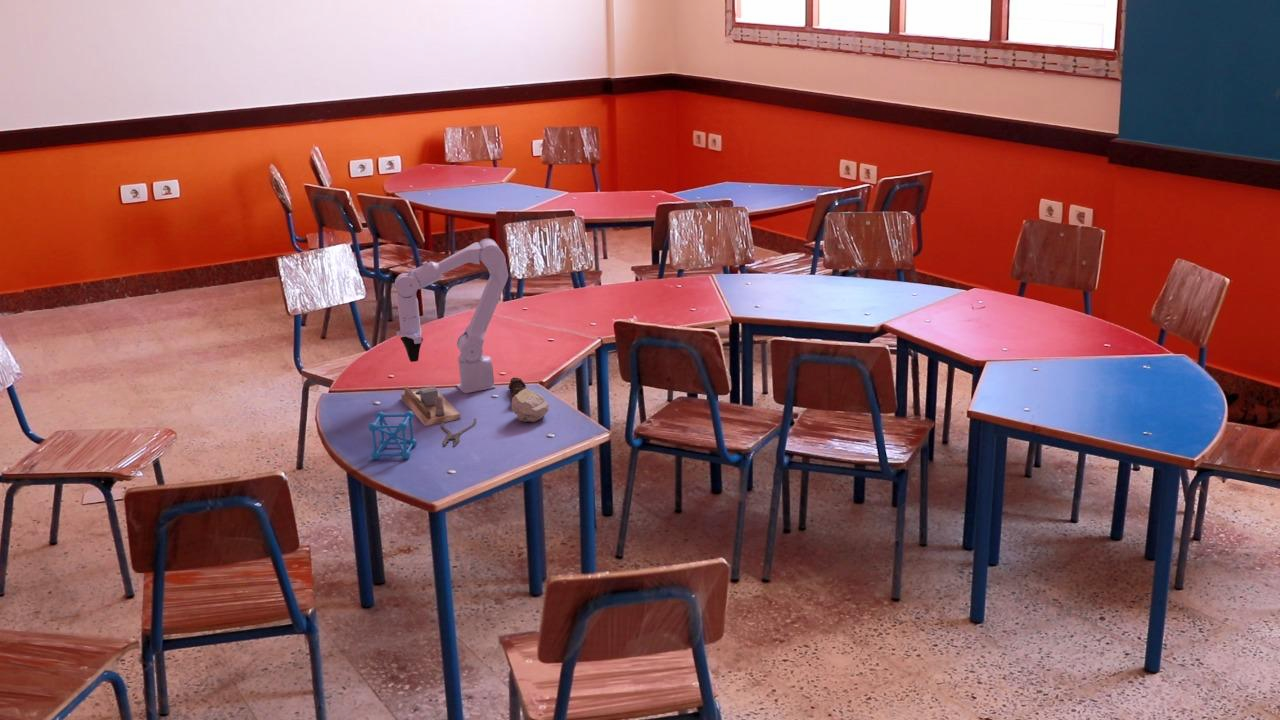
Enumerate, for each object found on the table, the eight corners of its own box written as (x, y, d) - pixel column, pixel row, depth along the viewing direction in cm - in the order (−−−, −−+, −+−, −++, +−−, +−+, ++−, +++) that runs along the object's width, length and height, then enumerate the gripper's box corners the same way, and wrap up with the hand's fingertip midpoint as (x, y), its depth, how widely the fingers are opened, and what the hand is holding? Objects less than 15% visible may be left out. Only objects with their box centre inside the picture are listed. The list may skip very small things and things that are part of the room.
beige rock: (550, 410, 341) (514, 415, 341) (545, 381, 339) (509, 387, 339) (551, 423, 330) (514, 428, 329) (546, 393, 327) (509, 399, 327)
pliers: (476, 415, 338) (480, 442, 320) (476, 418, 338) (480, 445, 320) (440, 418, 337) (442, 446, 318) (440, 421, 337) (443, 449, 318)
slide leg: (434, 399, 347) (433, 385, 346) (439, 403, 344) (437, 389, 342) (420, 402, 346) (419, 388, 344) (424, 406, 342) (423, 392, 341)
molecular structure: (371, 461, 312) (366, 424, 309) (380, 445, 321) (376, 410, 318) (409, 460, 311) (405, 424, 308) (418, 445, 321) (414, 409, 318)
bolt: (518, 393, 359) (524, 410, 345) (503, 387, 358) (508, 403, 344) (527, 376, 358) (533, 392, 344) (511, 369, 357) (517, 385, 343)
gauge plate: (435, 392, 358) (433, 371, 356) (460, 418, 337) (458, 396, 335) (401, 398, 354) (399, 377, 352) (425, 425, 333) (422, 403, 331)
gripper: (388, 311, 353) (393, 356, 358) (402, 324, 341) (407, 370, 345) (412, 307, 356) (417, 352, 361) (426, 320, 344) (431, 366, 348)
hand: (414, 360), depth 353 cm, fingers closed
